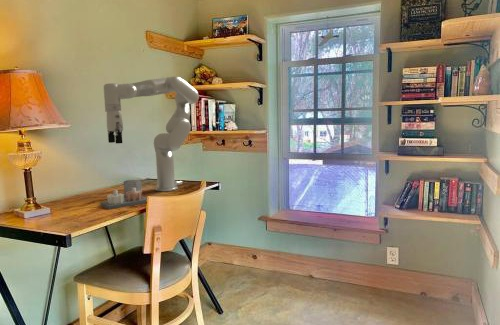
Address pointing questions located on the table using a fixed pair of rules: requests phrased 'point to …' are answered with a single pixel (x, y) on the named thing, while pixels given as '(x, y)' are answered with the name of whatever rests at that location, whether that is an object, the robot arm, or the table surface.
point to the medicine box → (132, 185)
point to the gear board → (126, 199)
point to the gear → (115, 198)
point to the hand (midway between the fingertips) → (115, 142)
